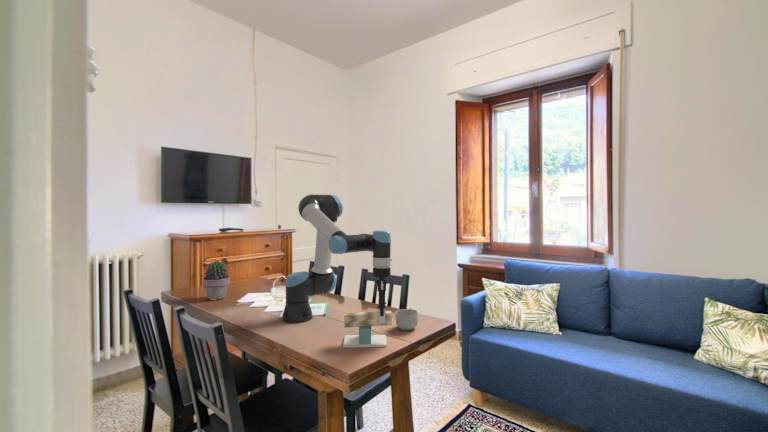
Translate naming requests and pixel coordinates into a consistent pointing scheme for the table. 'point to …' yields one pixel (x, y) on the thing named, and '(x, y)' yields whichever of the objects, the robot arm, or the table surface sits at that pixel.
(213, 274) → the potted plant
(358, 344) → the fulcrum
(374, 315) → the beige mottled long block
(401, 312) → the teacup
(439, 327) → the table surface
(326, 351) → the table surface
